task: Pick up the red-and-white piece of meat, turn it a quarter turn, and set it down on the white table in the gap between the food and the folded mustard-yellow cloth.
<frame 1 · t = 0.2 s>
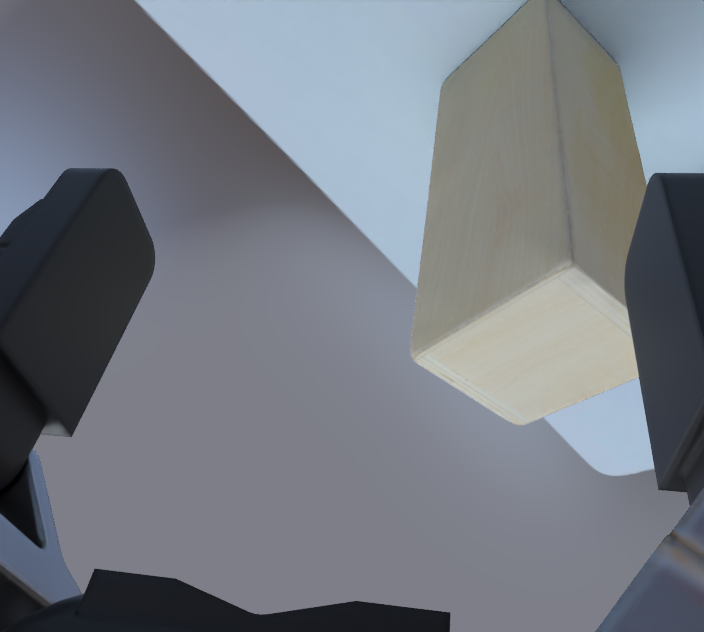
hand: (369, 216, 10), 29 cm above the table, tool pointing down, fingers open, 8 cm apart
toy refrigerator: (530, 78, 38), on the table
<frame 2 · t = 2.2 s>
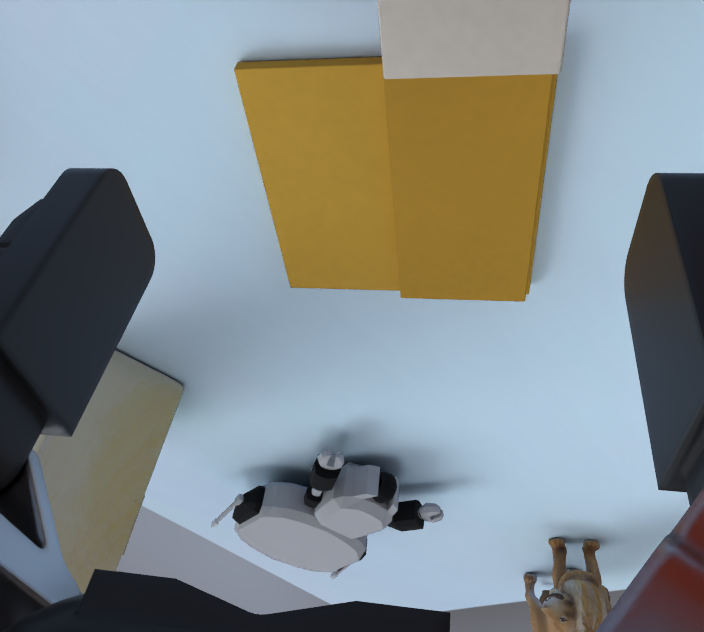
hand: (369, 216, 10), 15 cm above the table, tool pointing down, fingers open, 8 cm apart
robot toy: (332, 483, 51), on the table
cloth: (400, 186, 29), on the table
lion figurine: (557, 551, 55), on the table
toy refrigerator: (125, 385, 45), on the table
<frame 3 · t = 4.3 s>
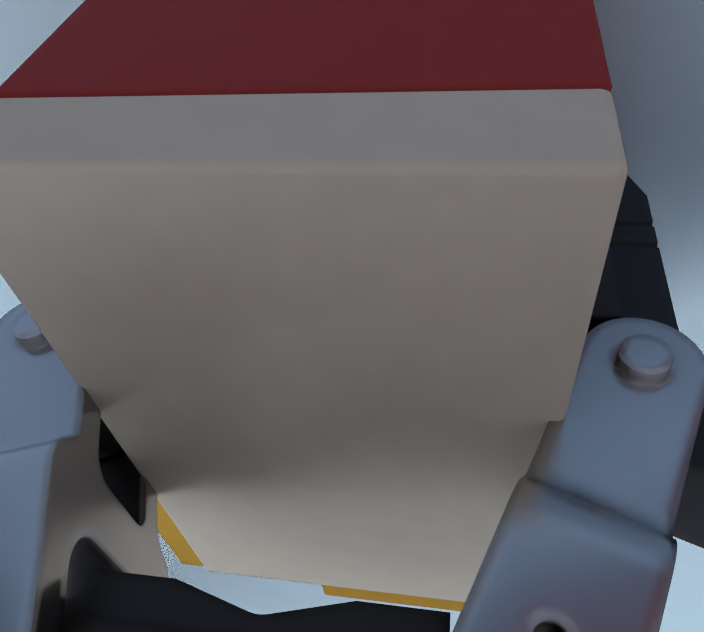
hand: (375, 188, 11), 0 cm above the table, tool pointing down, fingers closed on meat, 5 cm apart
cloth: (311, 491, 20), on the table
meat: (380, 172, 11), on the table, touching gripper
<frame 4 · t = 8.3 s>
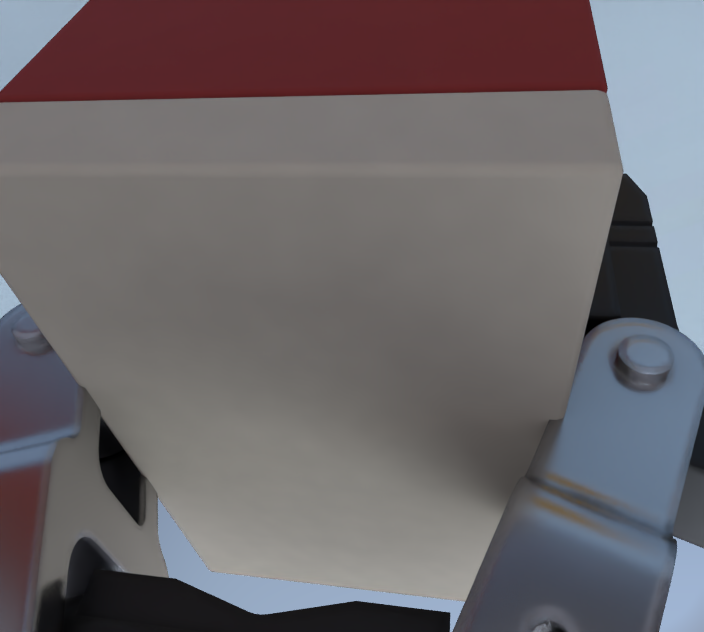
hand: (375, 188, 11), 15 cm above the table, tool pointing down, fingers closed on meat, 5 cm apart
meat: (380, 173, 11), point 15 cm above the table, touching gripper
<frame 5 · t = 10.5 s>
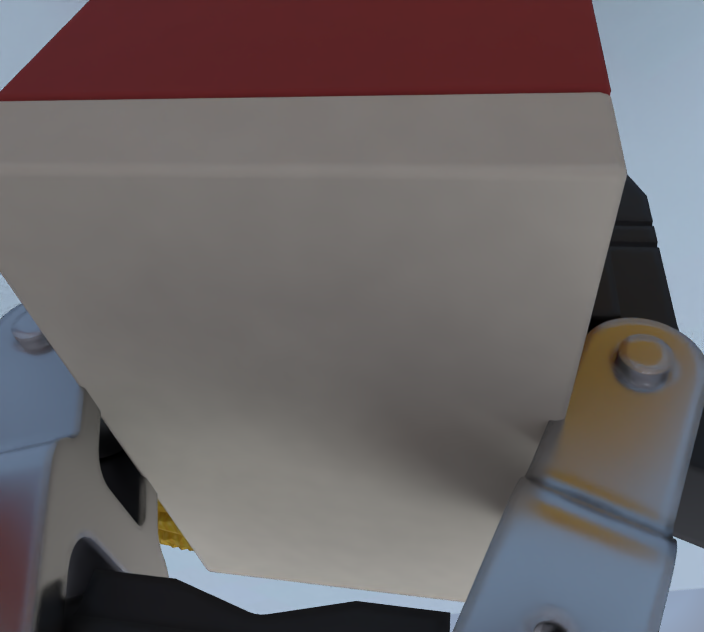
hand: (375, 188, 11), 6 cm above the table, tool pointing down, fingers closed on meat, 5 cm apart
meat: (380, 173, 11), point 5 cm above the table, touching gripper
food: (329, 424, 28), on the table
when the fingers open (0 cm above the table, at t = 12.3 s): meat stays where it is, on the table.
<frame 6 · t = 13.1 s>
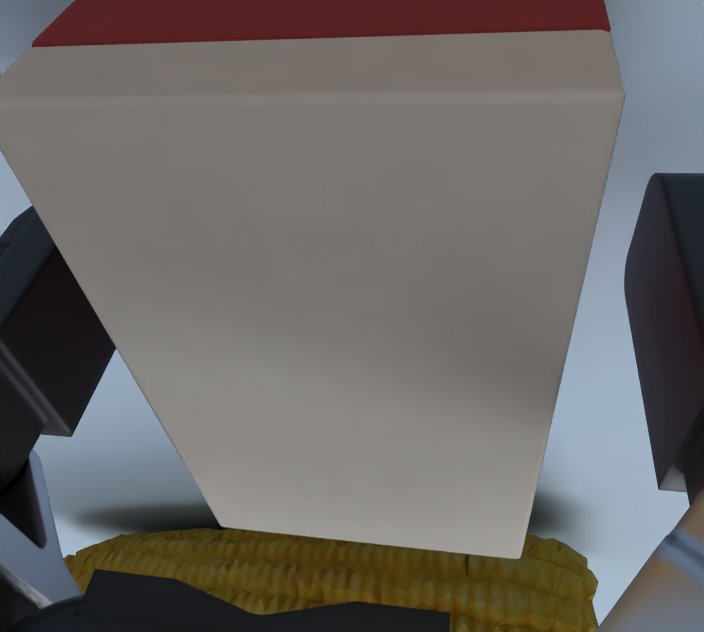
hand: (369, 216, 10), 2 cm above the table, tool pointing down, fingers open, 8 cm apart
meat: (388, 142, 11), on the table
food: (310, 528, 25), on the table
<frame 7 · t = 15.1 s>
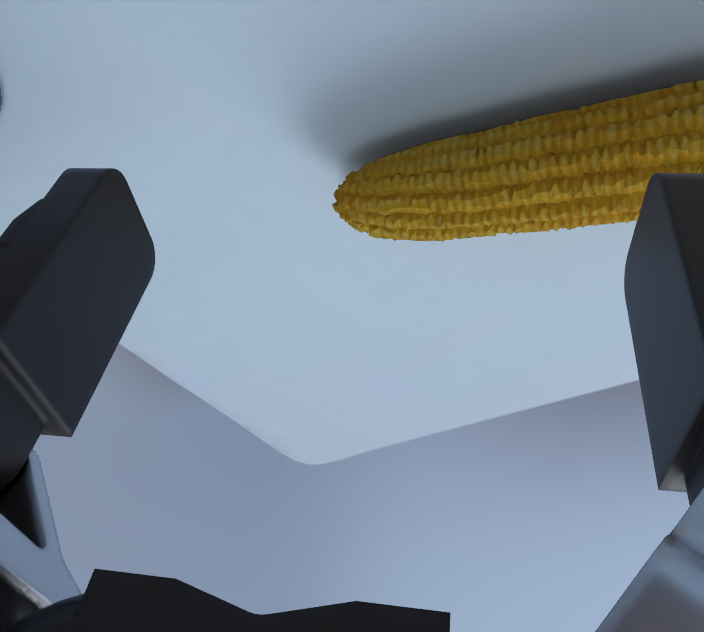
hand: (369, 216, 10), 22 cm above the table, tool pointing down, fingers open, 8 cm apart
food: (540, 140, 33), on the table
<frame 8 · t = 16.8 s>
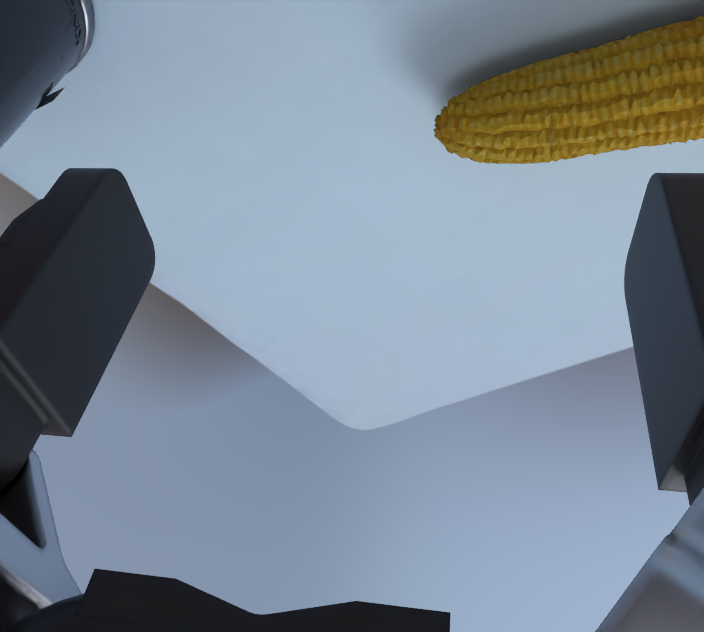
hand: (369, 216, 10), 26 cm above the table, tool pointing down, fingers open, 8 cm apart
food: (643, 61, 34), on the table
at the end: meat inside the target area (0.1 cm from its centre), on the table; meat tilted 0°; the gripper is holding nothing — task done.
